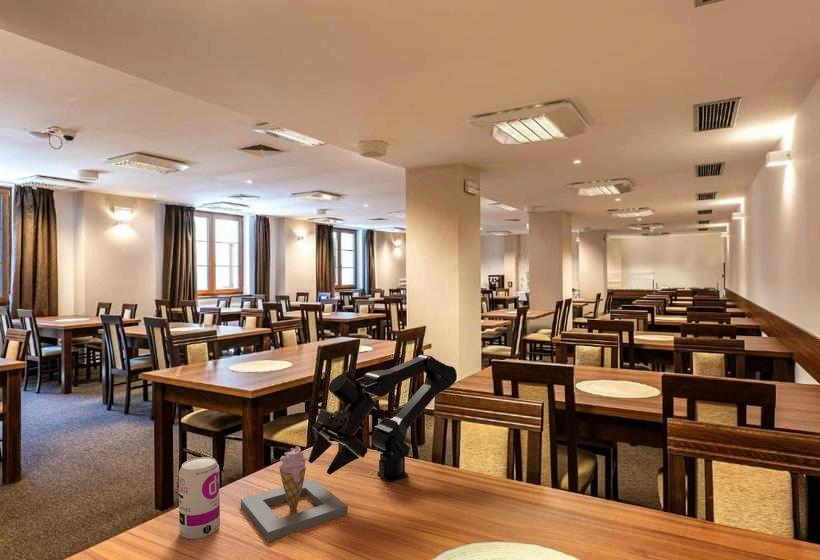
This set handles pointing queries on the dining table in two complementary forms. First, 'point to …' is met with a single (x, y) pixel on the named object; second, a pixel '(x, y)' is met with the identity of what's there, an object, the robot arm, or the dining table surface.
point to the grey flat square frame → (277, 528)
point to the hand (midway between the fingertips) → (318, 467)
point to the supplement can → (199, 498)
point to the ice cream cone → (293, 475)
